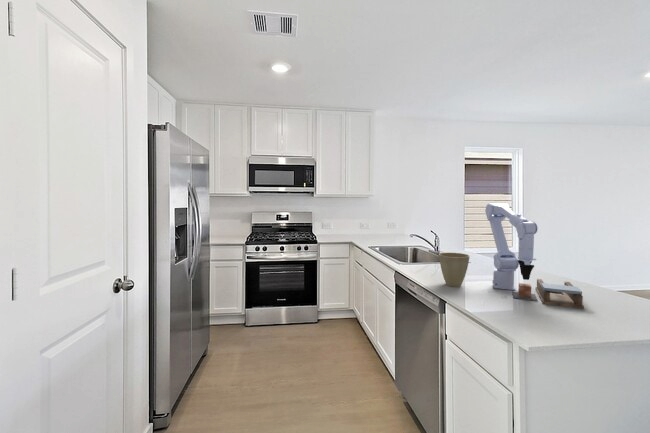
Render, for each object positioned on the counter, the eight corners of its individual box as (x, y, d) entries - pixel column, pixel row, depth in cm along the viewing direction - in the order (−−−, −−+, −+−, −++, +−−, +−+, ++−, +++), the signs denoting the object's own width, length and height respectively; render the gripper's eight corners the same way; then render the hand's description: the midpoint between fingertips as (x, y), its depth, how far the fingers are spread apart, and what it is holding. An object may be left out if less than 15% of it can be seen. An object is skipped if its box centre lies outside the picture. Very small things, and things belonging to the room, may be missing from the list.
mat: (513, 298, 141) (513, 297, 141) (512, 292, 149) (512, 291, 149) (537, 301, 137) (537, 299, 137) (534, 295, 145) (534, 294, 145)
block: (519, 296, 142) (519, 285, 142) (518, 293, 146) (518, 283, 146) (531, 297, 140) (531, 286, 140) (529, 294, 144) (530, 284, 144)
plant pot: (475, 286, 161) (475, 255, 160) (456, 290, 154) (456, 258, 153) (450, 279, 174) (451, 251, 173) (432, 283, 167) (432, 254, 166)
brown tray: (542, 303, 134) (542, 291, 134) (535, 289, 155) (535, 278, 154) (583, 308, 128) (584, 296, 128) (570, 293, 148) (571, 282, 148)
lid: (543, 290, 135) (544, 287, 135) (541, 285, 142) (541, 283, 142) (582, 294, 129) (582, 291, 129) (577, 289, 136) (577, 286, 136)
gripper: (538, 251, 134) (537, 282, 135) (534, 246, 146) (533, 274, 147) (519, 250, 137) (518, 280, 138) (516, 245, 150) (515, 273, 151)
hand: (524, 277), depth 143 cm, fingers open, 7 cm apart
